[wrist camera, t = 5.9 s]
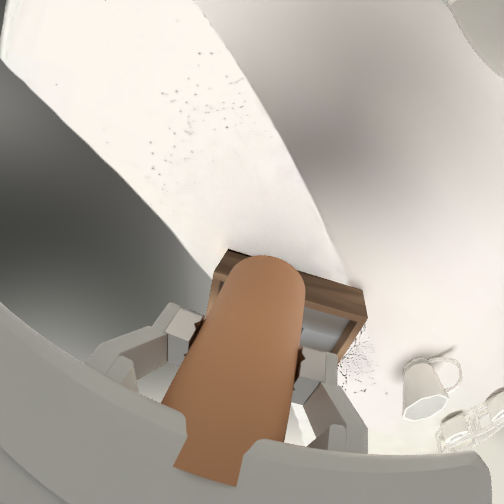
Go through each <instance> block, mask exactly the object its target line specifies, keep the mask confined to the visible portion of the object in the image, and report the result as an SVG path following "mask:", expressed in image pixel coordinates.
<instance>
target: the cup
mask: <svg viewBox="0 0 504 504" xmlns="http://www.w3.org/2000/svg"><path fill="white" fill-rule="evenodd" d="M439 361H440V362H450V363H454V364H456V365H457V366H458V367H459V373H460V377H459V379H458V382H457V384H456V385H455V386H453V387H450V388H447V389H444V387H443V385H442V383H441V381H440V379H439V377H438V375H437V374H436V372H435V371H434V369H433V368H432V366H430V365H429V364H430V363H432V362H439ZM404 375H405V377H404V385H403V414H402V418H403V419H406V420H409V421H412V422H414V421H419V420H423V419H428V418H430V417H432V416H434V415H435V414H437V413H438V412H440V411H441V410H443V409H444V408H445V406H446V404H447V402H448V399H449V397H448V395H447V394H450V393H452V392H453V391H455V390H456V389H457V388H458V387H459V386H460V383H461V381H462V371H461V367H460V364H459V363H458V362H457V360H455V359H452V358H445V357H436V358H431V359H428V360H427V359H425V358H424V357H421V358H416V359H412V360H411V361H410V362H409V363H407V364H406V365H405V366H404Z"/></svg>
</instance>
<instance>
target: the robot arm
mask: <svg viewBox="0 0 504 504" xmlns="http://www.w3.org/2000/svg"><path fill="white" fill-rule="evenodd" d="M442 1H443V2H444V3H445V4H446V5H447V6H448V7H449V9H450V10H451V12H452V14H453V15H454V17H455V19H456V21H457V23H458V25H459V27H460V29H461V31H462V32H463V34H464V36H465V37H466V39H467V40H468V42H469V44H470V45H471V46H472V48H473V49H474V51H475V52H476V53H477V54H478V56H479V57H480V58H481V59H482V60H483V61H484V62H485V64H486V65H487V66H488V67H489V68H491V69H492V70H493V71H494V72H495V73H496V74H498V75H499V76H500V77H502V78H504V0H442ZM204 318H205V316H204V315H202V314H200V313H197V312H195V311H192V310H190V309H187V308H185V307H181V306H179V305H176V304H174V303H169V304H168V305H167V306H166V308H165V309H164V311H163V312H162V313H161V315H160V316H159V318H158V319H157V320H156V322H155V323H154V324H153V326H152V327H150V326H147V327H144V328H141V329H139V330H136V331H133V332H131V333H128V334H125V335H122V336H120V337H117V338H114V339H111V340H109V341H106V342H103V343H101V344H100V345H99V346H98V348H97V349H96V350H95V351H94V352H93V354H92V355H91V356H90V357H89V359H88V360H87V361H86V363H85V364H83V363H82V362H80V361H78V360H77V359H75V358H73V357H72V356H71V355H69V354H67V353H66V352H64V351H63V350H61V349H60V348H58V347H57V346H55V345H54V344H53V343H51V342H50V341H48V340H47V339H45V338H44V337H43V336H41V335H40V334H39V333H37V332H36V331H34V330H33V329H32V328H31V327H29V326H28V325H27V324H26V323H24V322H23V321H22V320H21V319H19V318H18V317H17V316H16V315H15V314H13V313H12V312H11V311H10V310H9V309H7V308H6V307H5V306H4V305H3V304H2V303H1V302H0V504H492V490H491V489H492V487H491V476H490V472H489V469H488V467H487V466H486V464H485V463H484V461H483V460H482V459H481V457H480V456H479V455H478V454H477V453H476V452H475V451H462V452H453V453H442V454H427V455H376V454H368V428H367V426H366V425H365V423H364V422H363V420H362V419H361V417H360V416H359V414H358V412H357V411H356V409H355V408H354V406H353V405H352V403H351V402H350V400H349V399H348V397H347V395H346V394H345V392H344V391H343V389H342V388H341V386H337V355H336V354H333V353H329V352H324V351H321V350H317V349H313V348H309V347H305V346H301V347H300V349H299V353H298V360H297V367H296V374H295V381H294V387H293V394H292V400H291V402H293V403H297V404H301V405H303V407H304V410H305V412H306V414H307V417H308V419H309V422H310V424H311V426H312V429H313V431H314V433H315V436H316V439H315V440H314V441H313V442H311V443H310V444H309V445H308V446H307V447H304V446H299V445H294V444H289V443H284V442H279V441H275V440H270V439H260V440H257V441H256V442H255V443H254V444H253V445H252V447H251V448H250V449H249V450H248V451H247V452H246V453H245V454H244V455H243V459H242V464H241V468H240V473H239V477H238V482H237V486H236V487H235V486H231V485H227V484H224V483H220V482H217V481H213V480H210V479H207V478H204V477H201V476H198V475H195V474H192V473H189V472H186V471H183V470H181V469H178V468H175V467H173V465H174V463H175V461H176V459H177V457H178V455H179V453H180V451H181V449H182V447H183V445H184V443H185V441H186V439H187V437H188V436H187V432H186V418H185V416H184V415H183V414H182V413H181V412H179V411H178V410H175V409H173V408H170V407H168V406H166V405H163V404H161V403H158V402H156V401H154V400H152V399H149V398H147V397H145V396H143V395H141V394H139V393H138V387H137V382H136V380H138V379H140V378H141V377H143V376H145V375H147V374H148V373H150V372H152V371H154V370H156V369H157V368H159V367H161V366H163V365H164V364H166V363H167V362H169V363H171V364H174V365H177V366H179V367H180V366H181V364H182V362H183V360H184V358H185V356H186V354H187V352H188V350H189V349H190V347H191V345H192V343H193V341H194V339H195V337H196V335H197V333H198V332H199V330H200V328H201V326H202V324H203V322H204Z"/></svg>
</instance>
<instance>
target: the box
mask: <svg viewBox="0 0 504 504" xmlns="http://www.w3.org/2000/svg"><path fill="white" fill-rule="evenodd" d="M248 257H252V256H250V255H246V254H243V253H240V252H237V251H234V250H230V249H228V250H227V252H226V253H225V255H224V256H223V258H222V259H221V261H220V263H219V264H218V266H217V267H216V269H215V271H214V274H213V279H212V285H211V290H210V296H209V301H208V307H207V313H206V317H207V315H208V313H209V311H210V309H211V307H212V305H213V303H214V302H215V300H216V298H217V296H218V294H219V292H220V290H221V289H222V287H223V285H224V283H225V281H226V279H227V277H228V275H229V274H230V272H231V270H232V269H233V267H234V266H235V265H236V264H237V263H239V262H240V261H242V260H244V259H246V258H248ZM297 271H298V270H297ZM298 272H299V274H300V275H301V277H302V279H303V281H304V284H305V302H304V312H303V320H302V329H301V337H300V345H299V349H300V347H301V346H305V347H309V348H313V349H317V350H321V351H324V352H329V353H333V354H336V355H337V365H338V363H339V362H340V360H341V359H342V357H343V356H344V354H345V353H346V351H347V350H348V348H349V347H350V345H351V344H352V342H353V341H354V339H355V338H356V336H357V335H358V333H359V331H360V330H361V328H362V327H363V325H364V323H365V322H366V320H367V319H368V316H367V311H366V306H365V301H364V296H363V291H362V290H360V289H357V288H353V287H350V286H347V285H344V284H340V283H337V282H334V281H331V280H327V279H324V278H321V277H318V276H314V275H311V274H308V273H305V272H301V271H298Z"/></svg>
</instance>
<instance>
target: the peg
mask: <svg viewBox="0 0 504 504" xmlns="http://www.w3.org/2000/svg"><path fill="white" fill-rule="evenodd" d="M304 302H305V284H304V281H303V279H302V277H301V275H300V274H299V272H298V271H297V270H296V269H295V268H294V267H293V266H291V265H290V264H289V263H287V262H285V261H283V260H282V259H279V258H276V257H272V256H266V255H258V256H252V257H248V258H246V259H244V260H242V261H240V262H239V263H237V264H236V265H235V266H234V267H233V269H232V270H231V272H230V274H229V275H228V277H227V279H226V281H225V283H224V285H223V287H222V289H221V290H220V292H219V294H218V296H217V298H216V300H215V302H214V303H213V305H212V307H211V309H210V311H209V313H208V315H207V317H206V318H205V320H204V322H203V324H202V326H201V328H200V330H199V332H198V333H197V335H196V337H195V339H194V341H193V343H192V345H191V347H190V349H189V350H188V352H187V354H186V356H185V358H184V360H183V362H182V364H181V366H180V368H179V369H178V372H177V373H176V375H175V377H174V379H173V381H172V383H171V385H170V387H169V389H168V391H167V393H166V394H165V396H164V398H163V400H162V402H161V404H163V405H166V406H168V407H170V408H173V409H175V410H178V411H179V412H181V413H182V414H183V415H184V416H185V418H186V432H187V436H188V437H187V439H186V441H185V443H184V445H183V447H182V449H181V451H180V453H179V455H178V457H177V459H176V461H175V463H174V465H173V467H175V468H178V469H181V470H183V471H186V472H189V473H192V474H195V475H198V476H201V477H204V478H207V479H210V480H213V481H217V482H220V483H224V484H227V485H231V486H235V487H236V486H237V482H238V477H239V473H240V468H241V464H242V459H243V455H244V454H245V453H246V452H247V451H248V450H249V449H250V448H251V447H252V445H253V444H254V443H255V442H256V441H257V440H260V439H270V440H275V441H279V442H284V440H285V434H286V429H287V423H288V417H289V411H290V406H291V400H292V394H293V387H294V381H295V374H296V367H297V360H298V353H299V345H300V337H301V329H302V320H303V312H304Z"/></svg>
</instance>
